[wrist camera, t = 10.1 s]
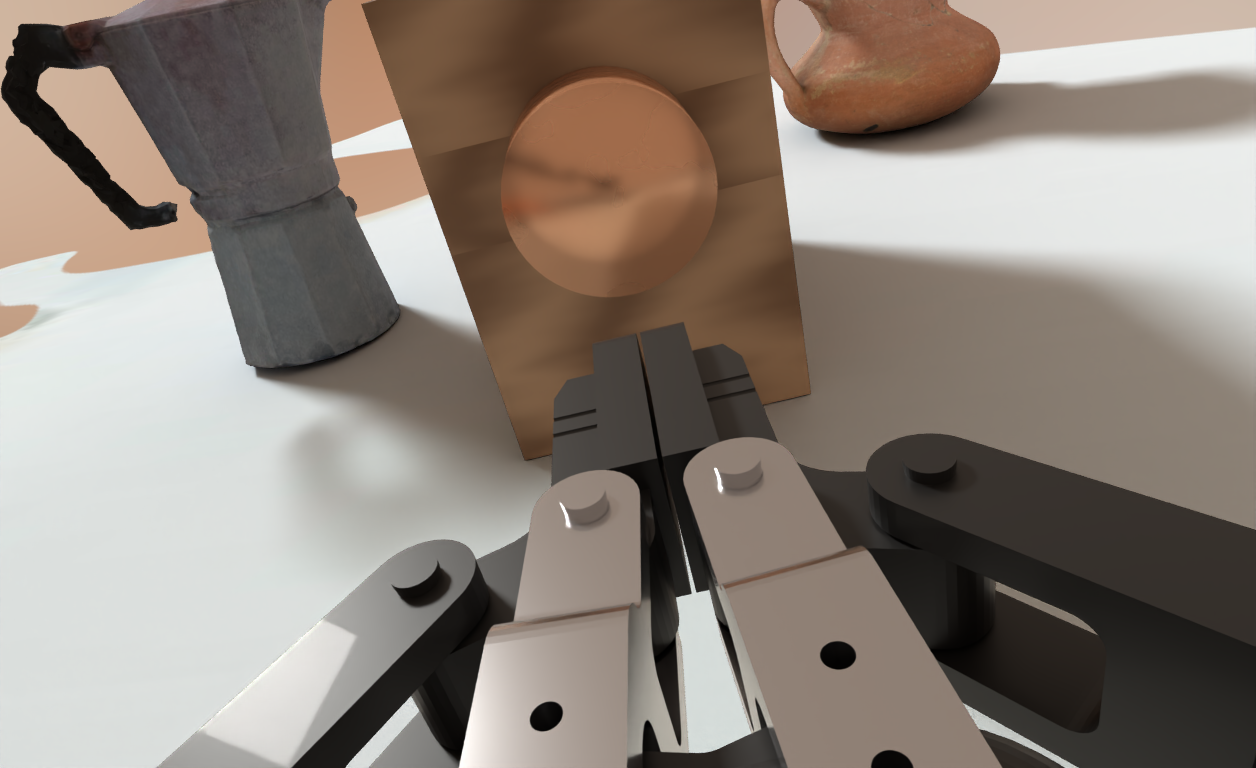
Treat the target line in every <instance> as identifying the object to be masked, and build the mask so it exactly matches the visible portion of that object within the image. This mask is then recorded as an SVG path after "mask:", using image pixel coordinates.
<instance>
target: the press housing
mask: <svg viewBox="0 0 1256 768" xmlns="http://www.w3.org/2000/svg"><path fill="white" fill-rule="evenodd" d="M362 8H363V10H364V13H365V16H366V19H367V22H368V24H369V27H370V30H371V33H372V35H373V38H374V41H375V44H376V47H377V49H378V52H379V55H380V58H381V60H382V63H383V66H384V69H385V72H386V75H387V77H388V80H389V83H390V86H391V89H392V91H393V94H394V97H395V100H396V103H397V105H398V108H399V111H400V114H401V116H402V119H403V122H404V125H405V128H406V130H407V133H408V136H409V139H410V142H411V144H412V147H413V149H414V153H415V155H416V158H417V161H418V164H419V167H420V169H421V172H422V175H423V178H424V181H425V183H426V186H427V189H428V191H429V195H430V197H431V200H432V203H433V206H434V208H435V211H436V214H437V217H438V220H439V222H440V225H441V228H442V231H443V234H444V236H445V239H446V242H447V245H448V247H449V250H450V253H451V256H452V259H453V261H454V264H455V267H456V270H457V273H458V275H459V278H460V281H461V284H462V287H463V289H464V292H465V295H466V298H467V300H468V303H469V306H470V309H471V312H472V314H473V317H474V320H475V323H476V326H477V328H478V331H479V334H480V337H481V339H482V342H483V345H484V348H485V351H486V353H487V356H488V359H489V362H490V365H491V367H492V370H493V373H494V376H495V379H496V381H497V384H498V387H499V390H500V392H501V395H502V398H503V401H504V404H505V406H506V409H507V412H508V415H509V418H510V420H511V423H512V426H513V429H514V431H515V434H516V437H517V440H518V443H519V445H520V448H521V451H522V454H523V457H524V459H525V460H529V459H533V458H537V457H542V456H546V455H550V454H552V448H553V438H554V436H553V422H554V419H553V414H554V399H555V397H556V396H557V394H558V393H559V391H560V390H561V388H562V387H563V385H564V384H565V382H566V381H567V380H568V379H573V378H577V377H581V376H586V375H590V374H594V365H593V349H592V344H593V343H596V342H600V341H604V340H609V339H613V338H617V337H621V336H626V335H630V334H634V333H636V334H637V338H638V341H639V345H640V349H641V353H642V357H643V361H644V365H645V369H646V364H645V358H644V353H643V347H642V342H641V336H640V332H642V331H646V330H651V329H655V328H659V327H664V326H668V325H672V324H676V323H681V322H684V325H685V328H686V332H687V335H688V338H689V342H690V345H691V348H692V351H693V350H697V349H701V348H706V347H710V346H714V345H719V344H724V345H726V346H727V347H729V348H731V349H732V350H734V351H735V352H737V353H738V354H740V355H742V357H743V359H744V362H745V364H746V367H747V369H748V372H749V375H750V377H751V379H752V381H753V384H754V386H755V389H756V391H757V393H758V396H759V398H760V401H761V403H762V405H764V404H769V403H773V402H777V401H781V400H786V399H790V398H794V397H799V396H803V395H807V394H811V390H810V382H809V374H808V366H807V358H806V351H805V343H804V335H803V327H802V319H801V311H800V304H799V296H798V288H797V280H796V272H795V264H794V256H793V249H792V241H791V233H790V225H789V217H788V209H787V202H786V194H785V186H784V178H783V170H782V162H781V155H780V147H779V139H778V131H777V123H776V115H775V107H774V100H773V92H772V84H771V76H770V68H769V60H768V53H767V45H766V37H765V29H764V21H763V13H762V5H761V0H372V1H369V2H366V3H363V4H362ZM593 66H614V67H622V68H626V69H630V70H634V71H636V72H639V73H641V74H644V75H646V76H648V77H650V78H652V79H653V80H655V81H657V82H658V83H660V84H661V85H662V86H663V87H665V88H666V89H667V90H669V92H670V93H671V94H672V95H673V96H674V97H675V98H676V99H677V100H678V101H679V102H680V104H681V105H682V106H683V108H684V109H685V110H686V112H687V113H688V115H689V116H690V117H691V119H692V120H693V121H694V123H695V124H696V125H697V127H698V128H699V130H700V131H701V133H702V134H703V136H704V138H705V140H706V142H707V143H708V146H709V148H710V151H711V154H712V156H713V160H714V164H715V168H716V174H717V184H718V189H717V203H716V209H715V214H714V218H713V221H712V224H711V227H710V229H709V232H708V234H707V236H706V238H705V240H704V242H703V243H702V245H701V247H700V248H699V250H698V251H697V252H696V254H695V255H694V256H693V258H692V259H691V260H690V261H689V262H688V263H687V264H686V265H685V266H684V267H683V268H682V269H681V270H680V271H679V272H677V273H676V274H675V275H673V276H672V277H671V278H669V279H668V280H666V281H664V282H663V283H661V284H659V285H657V286H655V287H653V288H651V289H648V290H646V291H643V292H639V293H636V294H632V295H627V296H621V297H595V296H589V295H584V294H580V293H577V292H573V291H570V290H568V289H565V288H563V287H561V286H559V285H557V284H555V283H554V282H552V281H550V280H549V279H547V278H545V277H544V276H543V275H542V274H540V273H539V272H538V271H537V270H536V269H534V268H533V267H532V265H531V264H530V263H529V262H528V261H527V260H526V259H525V258H524V256H523V255H522V254H521V252H520V251H519V250H518V248H517V247H516V245H515V243H514V241H513V239H512V237H511V236H510V233H509V230H508V228H507V225H506V223H505V218H504V214H503V210H502V202H501V179H502V173H503V167H504V162H505V158H506V154H507V149H508V145H509V141H510V137H511V134H512V131H513V128H514V126H515V124H516V121H517V119H518V117H519V115H520V114H521V112H522V111H523V109H524V108H525V106H526V105H527V104H528V102H529V101H530V100H531V99H532V98H533V96H534V95H535V94H536V93H538V92H539V91H540V90H541V89H542V88H543V87H544V86H546V85H547V84H549V83H550V82H552V81H553V80H555V79H556V78H558V77H560V76H562V75H564V74H566V73H569V72H572V71H575V70H578V69H582V68H587V67H593ZM646 373H647V369H646ZM647 377H648V375H647ZM648 382H649V380H648Z"/></svg>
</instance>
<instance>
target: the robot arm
mask: <svg viewBox="0 0 1256 768" xmlns="http://www.w3.org/2000/svg"><path fill="white" fill-rule="evenodd" d="M640 336H641V342H642V347H643V353H644V358H645V364H646V369H647V373H646V369H645V365H644V361H643V357H642V353H641V349H640V345H639V341H638V338H637V334H636V333H634V334H630V335H626V336H621V337H617V338H613V339H609V340H604V341H600V342H596V343H593V344H592V349H593V365H594V374H590V375H586V376H581V377H577V378H573V379H568V380H567V381H566V382H565V384H564V385H563V387H562V388H561V390H560V391H559V393H558V394H557V396H556V397H555V399H554V414H553V419H554V422H553V436H554V438H553V448H552V483H551V488H550V489H548V490H547V491H546V492H545V493H544V494H543V495H542V496H541V497H540V499H539V500H538V501H537V503H536V505H535V507H534V509H533V513H532V517H531V523H530V529H529V532H528V533H527V534H525V535H524V536H523V537H521V538H519V539H518V540H516V541H515V542H513V543H511V544H509V545H507V546H505V547H503V548H501V549H499V550H496V551H494V552H492V553H490V554H488V555H486V556H483V557H481V558H479V559H477V560H476V559H475V556H474V554H473V553H472V551H471V550H470V548H468V547H467V546H466V545H464V544H462V543H460V542H457V541H453V540H433V541H428V542H424V543H420V544H417V545H415V546H412V547H410V548H407V549H405V550H403V551H402V552H400V553H398V554H396V555H395V556H393V557H392V558H390V559H389V560H388V561H386V562H385V563H384V564H383V565H381V566H380V567H379V568H378V569H377V570H376V571H375V572H374V573H373V574H371V575H370V576H369V577H368V578H367V579H366V580H365V581H364V582H363V583H361V584H360V585H359V586H358V587H357V588H356V589H355V590H354V591H353V592H351V593H350V594H349V595H348V596H347V597H346V598H345V599H344V600H343V601H341V602H340V603H339V604H338V605H337V606H336V607H335V608H334V609H333V610H331V611H330V612H329V613H328V614H327V615H326V616H325V617H324V618H323V619H321V620H320V621H319V622H318V623H317V624H316V625H315V626H314V627H313V628H311V629H310V630H309V631H308V632H307V633H306V634H305V635H304V636H302V637H301V638H300V639H299V640H298V641H297V642H296V643H295V644H294V645H292V646H291V647H290V648H289V649H288V650H287V651H286V652H285V653H284V654H282V655H281V656H280V657H279V658H278V659H277V660H276V661H275V662H274V663H272V664H271V665H270V666H269V667H268V668H267V669H266V670H265V671H264V672H262V673H261V674H260V675H259V676H258V677H257V678H256V679H255V680H254V681H252V682H251V683H250V684H249V685H248V686H247V687H246V688H245V689H244V690H242V691H241V692H240V693H239V694H238V695H237V696H236V697H235V698H234V699H232V700H231V701H230V702H229V703H228V704H227V705H226V706H225V707H223V708H222V709H221V710H220V711H219V712H218V713H217V714H216V715H215V716H213V717H212V718H211V719H210V720H209V721H208V722H207V723H206V724H205V725H203V726H202V727H201V728H200V729H199V730H198V731H197V732H196V733H195V734H193V735H192V736H191V737H190V738H189V739H188V740H187V741H186V742H185V743H183V744H182V745H181V746H180V747H179V748H178V749H177V750H176V751H175V752H173V753H172V754H171V755H170V756H169V757H168V758H167V759H166V760H165V761H163V762H162V763H161V764H160V765H159V766H158V767H157V768H345V767H346V766H347V765H348V763H349V762H350V761H351V760H352V759H353V758H354V757H355V755H356V754H357V753H358V752H359V751H360V750H361V749H362V748H363V747H364V746H365V745H366V744H367V743H368V741H369V740H370V739H371V738H372V737H373V736H374V735H375V734H376V733H377V732H378V731H379V730H380V729H381V727H382V726H383V725H384V724H385V723H386V722H387V721H388V720H389V719H390V718H391V717H392V716H393V715H394V714H395V712H396V711H397V710H398V709H399V708H400V707H401V706H402V705H403V704H404V703H405V702H406V701H407V700H408V698H409V697H410V696H412V698H413V700H414V702H415V704H416V705H417V707H418V709H419V713H418V714H417V715H416V716H415V717H414V718H413V719H412V720H411V721H410V723H409V724H408V725H407V726H406V727H405V728H404V729H403V730H402V731H401V732H400V734H399V735H398V736H397V737H396V738H395V739H394V740H393V741H392V742H391V743H390V745H389V746H388V747H387V748H386V749H385V750H384V751H383V752H382V753H381V755H380V756H379V757H378V758H377V759H376V760H375V761H374V762H373V763H372V764H371V766H370V767H369V768H1064V767H1063V766H1061V765H1059V764H1058V763H1056V762H1054V761H1053V760H1051V759H1049V758H1047V757H1046V756H1044V755H1042V754H1040V753H1038V752H1036V751H1034V750H1032V749H1030V748H1028V747H1026V746H1023V745H1021V744H1019V743H1017V742H1015V741H1013V740H1010V739H1007V738H1004V737H1002V736H999V735H996V734H993V733H990V732H988V731H985V730H981V729H978V727H977V726H976V724H975V722H974V721H973V719H972V718H971V716H970V714H969V713H968V711H967V709H966V708H965V706H964V705H963V703H964V704H966V705H968V706H970V707H972V708H973V709H975V710H977V711H979V712H980V713H982V714H984V715H986V716H988V717H989V718H991V719H993V720H995V721H997V722H998V723H1000V724H1002V725H1004V726H1005V727H1007V728H1009V729H1011V730H1013V731H1014V732H1016V733H1018V734H1020V735H1021V736H1023V737H1025V738H1027V739H1029V740H1030V741H1032V742H1034V743H1036V744H1038V745H1039V746H1041V747H1043V748H1045V749H1046V750H1048V751H1050V752H1052V753H1054V754H1055V755H1057V756H1059V757H1061V758H1062V759H1064V760H1066V761H1068V762H1070V763H1071V764H1073V765H1075V766H1077V767H1079V768H1256V530H1254V529H1251V528H1248V527H1244V526H1241V525H1238V524H1235V523H1232V522H1228V521H1225V520H1222V519H1219V518H1216V517H1212V516H1209V515H1206V514H1203V513H1200V512H1196V511H1193V510H1190V509H1187V508H1184V507H1180V506H1177V505H1174V504H1171V503H1168V502H1164V501H1161V500H1158V499H1155V498H1151V497H1148V496H1145V495H1142V494H1139V493H1135V492H1132V491H1129V490H1126V489H1123V488H1119V487H1116V486H1113V485H1110V484H1107V483H1103V482H1100V481H1097V480H1094V479H1091V478H1087V477H1084V476H1081V475H1078V474H1075V473H1071V472H1068V471H1065V470H1062V469H1058V468H1055V467H1052V466H1049V465H1046V464H1042V463H1039V462H1036V461H1033V460H1030V459H1026V458H1023V457H1020V456H1017V455H1014V454H1010V453H1007V452H1004V451H1001V450H998V449H994V448H991V447H988V446H985V445H982V444H978V443H975V442H972V441H969V440H965V439H962V438H959V437H955V436H950V435H943V434H916V435H910V436H905V437H902V438H898V439H896V440H893V441H890V442H888V443H887V444H885V445H883V446H882V447H880V448H879V449H878V450H876V451H875V452H874V453H873V455H872V456H871V457H870V459H869V461H868V463H867V467H866V472H834V471H824V470H818V469H814V468H810V467H807V466H804V465H801V464H799V463H797V462H796V460H795V459H794V457H793V455H792V454H791V453H790V451H789V450H788V449H786V448H785V447H784V446H782V445H780V444H779V443H778V442H777V439H776V437H775V434H774V432H773V429H772V427H771V425H770V422H769V420H768V417H767V415H766V413H765V410H764V408H763V405H762V403H761V401H760V398H759V396H758V393H757V391H756V389H755V386H754V384H753V381H752V379H751V377H750V375H749V372H748V369H747V367H746V364H745V362H744V359H743V357H742V355H740V354H738V353H737V352H735V351H734V350H732V349H731V348H729V347H727V346H726V345H724V344H719V345H714V346H710V347H706V348H701V349H697V350H693V351H692V348H691V345H690V342H689V338H688V335H687V332H686V328H685V325H684V322H681V323H676V324H672V325H668V326H664V327H659V328H655V329H651V330H646V331H642V332H640ZM647 375H648V377H647ZM648 380H649V382H648ZM677 517H678V518H677ZM678 521H679V524H678ZM679 525H680V529H681V533H682V537H683V541H684V545H685V549H686V553H687V557H688V561H689V565H690V569H691V573H692V577H693V581H694V585H695V589H696V593H697V592H701V591H706V590H709V591H710V595H711V599H712V603H713V607H714V611H715V615H716V619H717V624H718V628H719V632H720V636H721V640H722V643H723V646H724V650H725V653H726V656H727V659H728V662H729V665H730V668H731V671H732V674H733V678H734V681H735V684H736V687H737V690H738V693H739V696H740V699H741V703H742V706H743V709H744V712H745V715H746V718H747V721H748V724H749V728H750V731H751V734H750V735H747V736H745V737H743V738H741V739H739V740H737V741H735V742H733V743H730V744H728V745H726V746H724V747H722V748H720V749H717V750H715V751H712V752H707V753H689V746H688V731H687V715H686V700H685V685H684V669H683V654H682V644H681V639H680V636H679V632H678V626H679V613H678V607H677V601H676V597H679V596H684V595H689V594H692V593H691V587H690V582H689V577H688V571H687V566H686V561H685V555H684V550H683V545H682V539H681V534H680V529H679ZM996 581H997V582H999V583H1001V584H1004V585H1006V586H1008V587H1011V588H1013V589H1015V590H1018V591H1020V592H1022V593H1025V594H1027V595H1029V596H1032V597H1034V598H1036V599H1038V600H1041V601H1043V602H1045V603H1048V604H1050V605H1052V606H1055V607H1057V608H1059V609H1062V610H1064V611H1066V612H1068V613H1070V614H1073V615H1075V616H1076V617H1078V618H1079V619H1081V620H1083V621H1084V622H1085V623H1086V624H1088V625H1089V626H1090V627H1091V628H1092V629H1093V630H1094V631H1095V632H1096V633H1097V634H1098V635H1099V636H1098V635H1096V634H1093V633H1091V632H1089V631H1087V630H1084V629H1082V628H1080V627H1078V626H1075V625H1073V624H1071V623H1068V622H1066V621H1064V620H1062V619H1059V618H1057V617H1055V616H1053V615H1050V614H1048V613H1046V612H1044V611H1041V610H1039V609H1037V608H1035V607H1032V606H1030V605H1028V604H1025V603H1023V602H1021V601H1019V600H1016V599H1014V598H1012V597H1010V596H1007V595H1005V594H1003V593H1001V592H998V591H996V590H995V587H996ZM962 702H963V703H962Z"/></svg>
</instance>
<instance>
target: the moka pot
mask: <svg viewBox="0 0 1256 768" xmlns="http://www.w3.org/2000/svg"><path fill="white" fill-rule="evenodd" d="M329 1H331V0H145V1H143V2H141V3H140V4H137V5H135V6H133V7H132V8H129V9H127V10H125V11H123V12H121V13H120V14H117V15H116V16H113V17H105V18H100V19H95V20H89V21H84V22H79V23H75V24H71V25H66V26H58V25H51V24H21V25H20V26H18V35H17V37H16V39H14V40H13V42H12V43H13V47H14V52H13V53H14V56H9V58H8V60H7V61H6V70H7V74H6V76H5V78H4V80H3V82H2V86H1V93H2V98H3V100H4V101H5V102H6V103H7V104H8V106H9V108H10V109H11V111H12V112H13V113H14V114H15V116H16V117H17V118H18V119H19V120H20V122H21V123H22V124H24V125H26V126H28V127H29V128H30V129H31V130H32V132H33V133H34V134H35V135H37V136H38V137H39V138H40V139H41V140H43V141H44V142H45V144H46V145H47V146H48V147H49V148H50V150H51V151H52V152H53V153H54V154H55V155H56V156H58V157H59V158H60V159H61V160H62V161H64V162H65V163H67V164H68V166H69V167H70V168H71V170H72V171H73V172H74V173H75V174H76V175H77V177H78V178H79V179H80V180H81V181H82V182H83V183H84V184H85V185H87V186H89V187H90V188H91V189H92V191H93V192H94V193H95V195H96V196H97V197H98V198H99V199H100V200H101V202H102V203H104V204H106V205H107V206H108V207H109V209H110V211H111V212H113V213H114V214H115V215H116V216H117V217H118V218H119V219H120V220H121V221H122V222H123V223H124V224H126V226H127V227H128V228H129V229H130V230H133V229H144V228H148V227H157V226H161V225H165V224H169V223H171V222H176V221H177V216H176V212H177V204H174V203H171V202H162V203H161V204H159V205H157V206H150V207H145V206H141V205H139V204H138V203H137V202H136V201H135V200H134V199H133V198H132V197H131V196H130V195H129V194H128V193H127V192H126V191H125V190H124V189H122V188H121V187H120V186H119V185H118V184H117V183H116V182H114V181H112V180H111V179H110V175H109V173H108V172H107V171H106V170H105V169H104V167H103V166H102V165H101V163H100V162H99V161H98V160H97V159H96V156H95V155H94V154H93V153H92V152H91V151H90V150H89V149H88V148H86V147H85V146H84V144H83V142H82V141H81V140H80V139H79V138H78V137H77V136H76V135H75V134H74V133H73V132H72V131H70V130H69V129H68V128H67V126H66V124H65V123H64V121H63V120H62V119H61V118H60V117H59V115H58V114H57V113H56V111H55V110H54V109H53V108H52V107H51V106H50V105H48V104H47V103H46V102H45V101H44V100H42V99H41V98H40V96H39V95H38V93H37V91H36V90H37V86H38V79H39V76H40V74H41V73H43V72H44V71H45V70H46V69H47V68H49V67H55V68H67V69H86V68H92V67H96V66H104V67H107V68H109V69H110V71H111V72H112V74H113V75H114V77H115V79H116V80H117V82H118V84H119V85H120V87H121V88H122V90H123V92H124V93H125V95H126V97H127V98H128V100H129V102H130V103H131V105H132V107H133V108H134V110H135V111H136V113H137V115H138V116H139V118H140V120H141V121H142V123H143V124H144V126H145V128H146V130H147V131H148V133H149V135H150V136H151V138H152V140H153V141H154V143H155V145H156V147H157V148H158V150H159V152H160V153H161V155H162V157H163V158H164V159H165V161H166V163H167V165H168V167H169V169H170V171H171V172H172V173H173V175H174V177H175V178H176V180H177V182H178V183H179V184H180V185H182V186H186V187H187V188H188V189H189V190H190V191H191V192H192V195H191V198H190V203H191V205H192V206H193V208H194V209H195V211H196V212H197V213H198V214H199V215H200V216H201V217H202V218H203V219H204V220H205V221H206V223H207V225H208V235H209V238H210V241H211V245H212V251H213V253H214V256H215V261H216V264H217V267H218V269H219V272H220V275H221V279H222V282H223V285H224V288H225V291H226V295H227V299H228V303H229V306H230V309H231V313H232V316H233V319H234V323H235V327H236V331H237V334H238V336H239V340H240V344H241V347H242V351H243V354H244V357H245V359H246V364H248V365H250V366H254V367H262V368H278V367H289V366H296V365H303V364H308V363H312V362H315V361H319V360H324V359H328V358H332V357H335V356H337V355H339V354H342V353H345V352H347V351H350V350H352V349H354V348H355V347H357V346H359V345H362V344H364V343H366V342H368V341H371V340H373V339H374V338H376V337H377V336H379V335H381V334H382V333H384V332H385V331H386V330H387V329H388V328H390V326H391V325H392V324H394V323H395V321H396V320H397V319H398V317H399V314H400V309H399V306H398V304H397V302H396V300H395V298H394V295H393V293H392V291H391V289H390V287H389V285H388V283H387V281H386V279H385V277H384V275H383V273H382V271H381V269H380V267H379V265H378V263H377V260H376V258H375V256H374V254H373V252H372V250H371V248H370V246H369V244H368V242H367V240H366V238H365V235H364V233H363V231H362V229H361V227H360V225H359V223H358V221H357V219H356V217H355V211H356V210H357V204H356V203H355V201H354V199H353V198H351V197H350V196H348V197H345V195H344V194H343V192H342V191H341V190H340V189H339V188H338V184H339V181H340V178H339V174H338V171H337V168H336V165H335V162H334V160H333V156H332V145H331V139H330V135H329V130H328V126H327V121H326V117H325V112H324V108H323V103H322V99H321V95H320V75H321V61H322V60H321V59H322V42H323V27H324V12H325V8H326V5H327V4H328V2H329Z"/></svg>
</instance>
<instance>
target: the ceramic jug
mask: <svg viewBox="0 0 1256 768" xmlns="http://www.w3.org/2000/svg"><path fill="white" fill-rule="evenodd" d="M779 1H780V0H761V5H762V13H763V21H764V29H765V37H766V45H767V53H768V60H769V68H770V75H771V76H772V77H773V79H774V80H775V81H776V82H777V83H778V85H779V86H780V87H781V89H782V90H783V98H784V102H785V105H786V107H787V109H788V111H789V113H790V114H791V115H792V116H793V117H794V118H795V119H796V120H798V121H799V122H801V123H802V124H804V125H807V126H809V127H811V128H815V129H819V130H824V131H831V132H840V133H855V134H866V133H879V132H888V131H894V130H899V129H904V128H909V127H913V126H917V125H921V124H924V123H927V122H931V121H933V120H936V119H938V118H941V117H943V116H946V115H948V114H950V113H952V112H954V111H956V110H958V109H959V108H961V107H963V106H964V105H966V104H968V103H969V102H970V101H972V100H973V99H975V98H976V97H977V96H978V95H980V94H981V93H982V92H983V91H984V90H985V89H986V88H987V87H988V86H989V84H990V83H991V82H992V80H993V78H994V76H995V74H996V72H997V69H998V65H999V62H1000V48H999V45H998V42H997V39H996V37H995V36H994V34H993V33H992V32H991V31H990V30H989V29H988V28H986V27H985V26H983V25H981V24H980V23H978V22H976V21H974V20H972V19H970V18H968V17H966V16H964V15H962V14H960V13H959V12H957V11H955V10H954V9H952V8H951V7H950V6H949V5H948V3H947V0H799V1H802V2H803V3H804V4H806V5H808V6H809V8H810V10H811V11H812V13H813V15H814V16H815V18H816V19H817V21H818V23H819V25H820V27H821V32H820V35H819V36H818V38H817V39H816V41H815V42H814V43H813V45H812V46H811V47H810V48H809V50H808V51H807V52H806V53H805V54H804V55H803V57H802V58H801V59H800V60H799V61H798V62H797V63H796V64H795V65H794V67H793V68H792V69H791V70H790V68H789V67H788V65H787V64H786V62H785V60H784V58H783V56H782V54H781V52H780V49H779V47H778V43H777V39H776V36H775V29H774V14H775V8H776V5H777V3H778V2H779Z"/></svg>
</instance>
